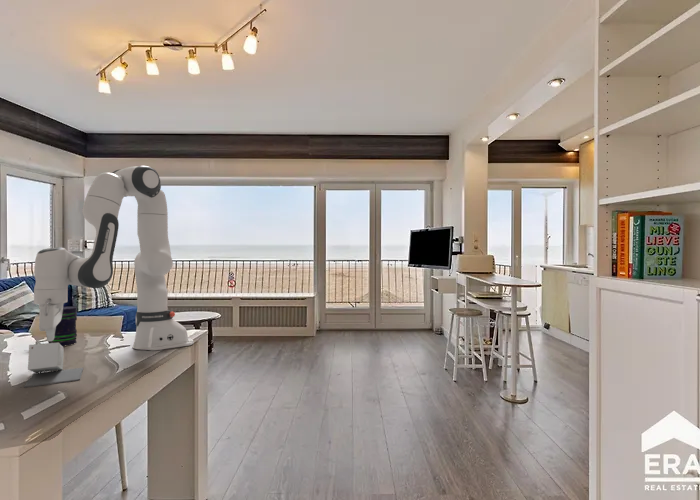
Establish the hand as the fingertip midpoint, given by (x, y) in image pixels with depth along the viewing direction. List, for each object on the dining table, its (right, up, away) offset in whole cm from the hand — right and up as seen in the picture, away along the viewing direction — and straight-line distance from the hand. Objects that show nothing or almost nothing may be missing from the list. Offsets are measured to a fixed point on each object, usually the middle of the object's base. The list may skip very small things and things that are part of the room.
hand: (50, 340), depth 133 cm
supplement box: (+1, -6, -2) cm, 6 cm away
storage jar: (-22, -10, +36) cm, 43 cm away
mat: (+8, -9, -9) cm, 15 cm away
